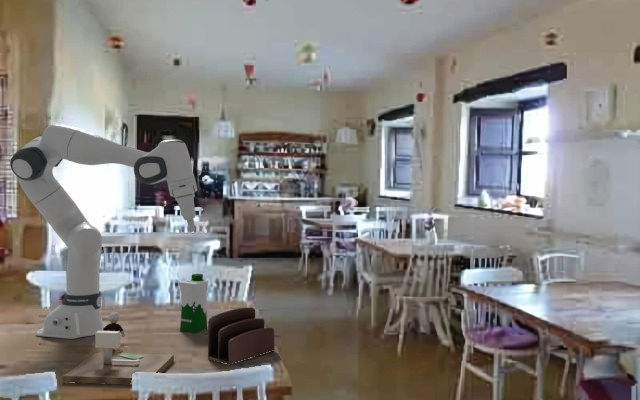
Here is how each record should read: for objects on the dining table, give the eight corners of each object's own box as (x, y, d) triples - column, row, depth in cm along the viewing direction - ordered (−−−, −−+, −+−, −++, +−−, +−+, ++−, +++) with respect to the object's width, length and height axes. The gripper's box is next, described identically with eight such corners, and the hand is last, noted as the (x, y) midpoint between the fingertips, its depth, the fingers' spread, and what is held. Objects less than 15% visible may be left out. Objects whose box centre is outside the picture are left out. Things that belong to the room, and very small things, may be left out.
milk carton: (210, 328, 229) (210, 274, 228) (195, 334, 221) (195, 278, 220) (192, 325, 233) (192, 272, 232) (175, 331, 225) (175, 276, 224)
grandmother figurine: (127, 349, 201) (127, 310, 200) (124, 353, 197) (123, 313, 197) (103, 349, 201) (103, 310, 200) (99, 353, 197) (99, 313, 196)
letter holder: (207, 359, 192) (207, 314, 191) (253, 346, 207) (253, 304, 206) (229, 366, 185) (229, 319, 185) (275, 352, 201) (275, 308, 200)
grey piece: (95, 364, 179) (95, 332, 178) (98, 361, 181) (98, 330, 181) (136, 365, 178) (136, 333, 177) (139, 362, 180) (139, 331, 180)
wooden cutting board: (62, 383, 169) (62, 374, 169) (97, 358, 191) (97, 351, 191) (149, 385, 168) (149, 377, 168) (173, 361, 190) (173, 353, 189)
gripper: (173, 188, 211) (182, 227, 213) (172, 192, 191) (183, 236, 193) (192, 184, 212) (200, 223, 214) (193, 188, 193) (203, 231, 194)
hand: (192, 229), depth 203 cm, fingers open, 8 cm apart
